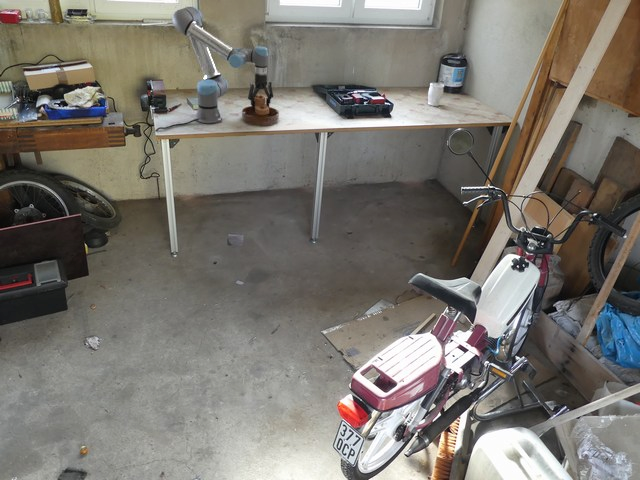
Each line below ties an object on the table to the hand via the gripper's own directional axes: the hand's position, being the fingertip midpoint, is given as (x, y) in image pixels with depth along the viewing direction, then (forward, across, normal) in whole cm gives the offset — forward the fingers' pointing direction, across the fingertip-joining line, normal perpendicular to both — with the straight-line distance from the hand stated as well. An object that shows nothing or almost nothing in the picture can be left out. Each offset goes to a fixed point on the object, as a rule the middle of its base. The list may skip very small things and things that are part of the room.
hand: (260, 109), depth 333 cm
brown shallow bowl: (+7, 0, 0) cm, 7 cm away
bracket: (0, 0, 0) cm, 0 cm away
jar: (+8, +137, -17) cm, 138 cm away
